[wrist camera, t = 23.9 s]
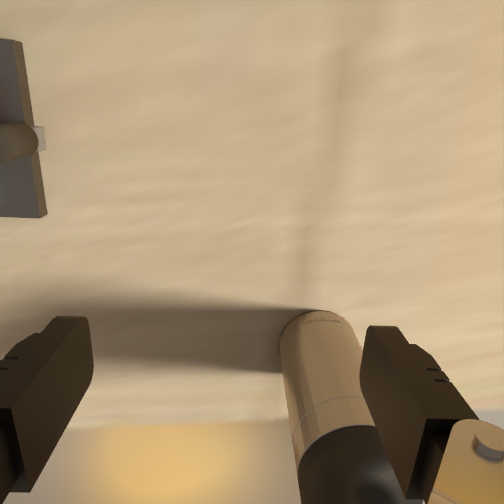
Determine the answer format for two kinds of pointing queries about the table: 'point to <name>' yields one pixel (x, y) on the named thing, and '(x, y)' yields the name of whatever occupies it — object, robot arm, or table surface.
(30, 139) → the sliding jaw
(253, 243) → the table surface
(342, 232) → the table surface
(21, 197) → the vise
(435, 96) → the table surface
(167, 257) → the table surface
